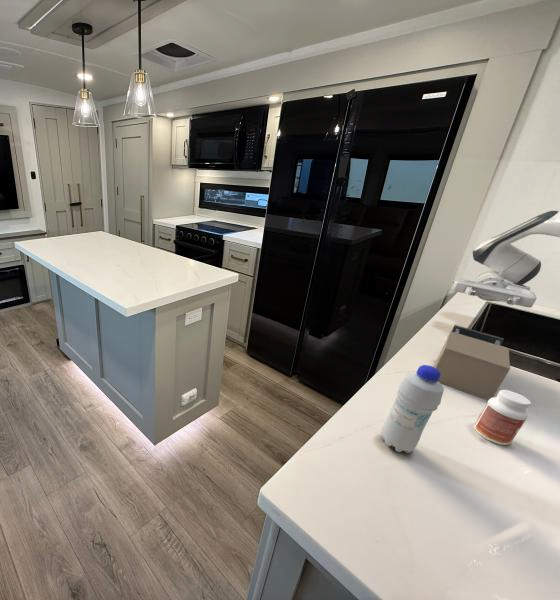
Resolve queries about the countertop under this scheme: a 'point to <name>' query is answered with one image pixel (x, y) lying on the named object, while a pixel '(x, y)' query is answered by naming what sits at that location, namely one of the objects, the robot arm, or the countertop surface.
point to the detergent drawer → (477, 335)
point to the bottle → (412, 408)
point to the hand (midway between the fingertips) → (491, 297)
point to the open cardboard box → (472, 365)
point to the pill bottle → (502, 417)
